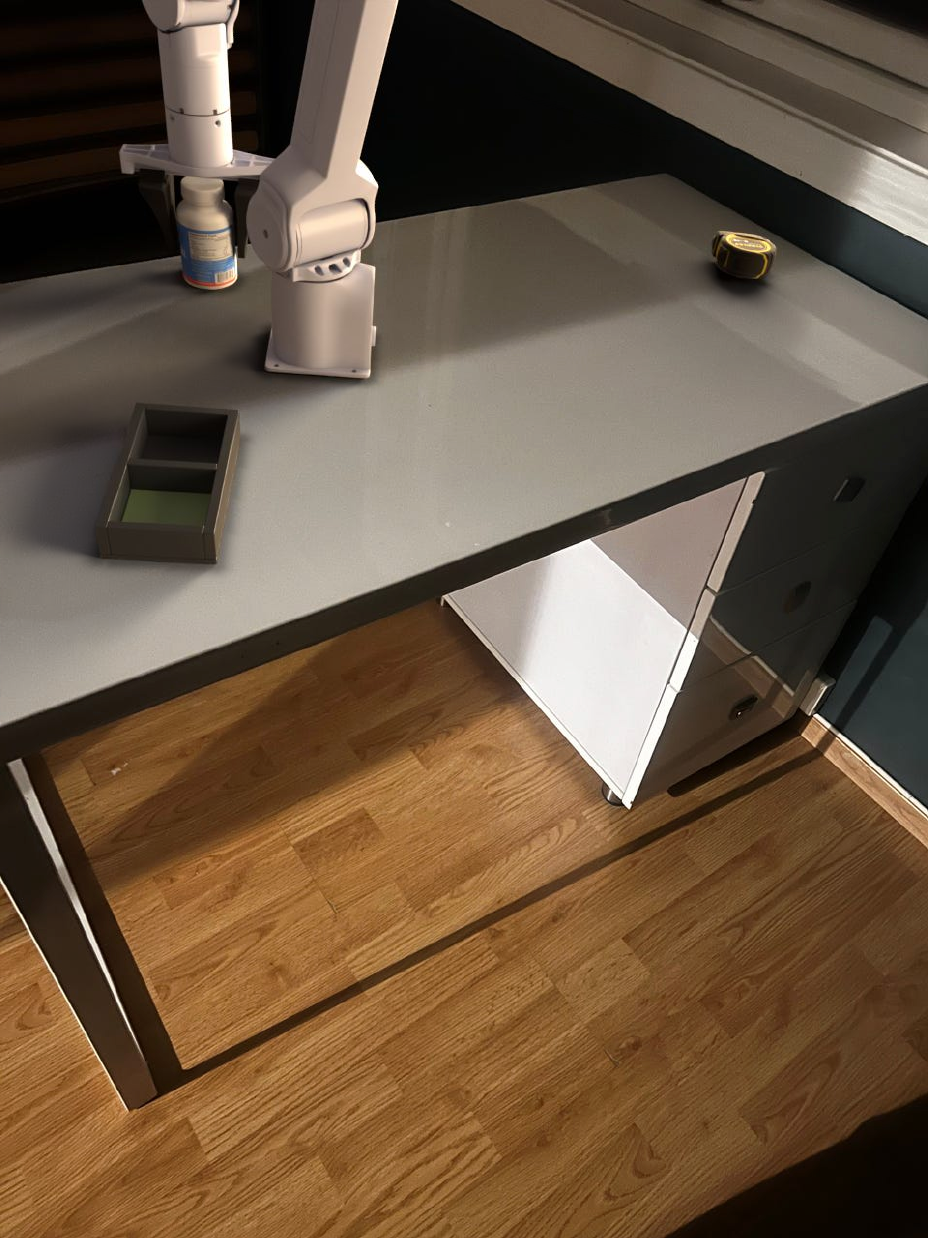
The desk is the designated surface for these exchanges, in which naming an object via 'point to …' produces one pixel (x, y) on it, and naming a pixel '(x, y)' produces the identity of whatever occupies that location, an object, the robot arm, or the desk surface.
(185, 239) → the pill bottle
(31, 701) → the desk surface
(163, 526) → the divided tray
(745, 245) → the tape measure
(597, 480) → the desk surface
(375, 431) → the desk surface
